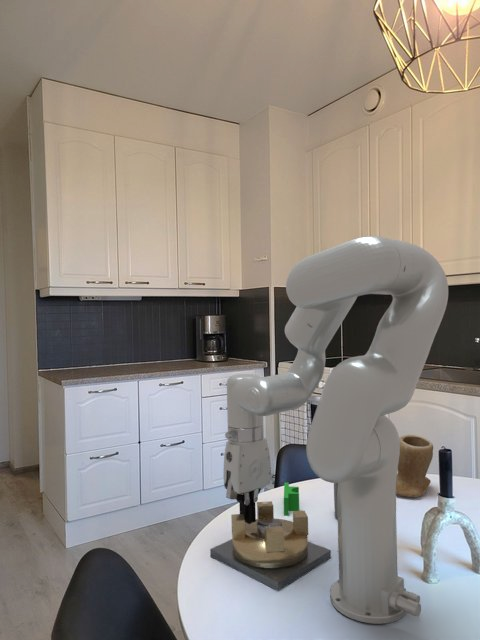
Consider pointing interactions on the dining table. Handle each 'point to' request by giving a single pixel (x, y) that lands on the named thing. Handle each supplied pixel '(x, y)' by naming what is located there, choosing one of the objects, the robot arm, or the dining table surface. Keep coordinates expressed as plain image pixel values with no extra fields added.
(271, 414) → the robot arm
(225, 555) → the mounting plate
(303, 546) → the ring nut
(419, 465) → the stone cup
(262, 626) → the dining table surface
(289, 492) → the pipe clamp
